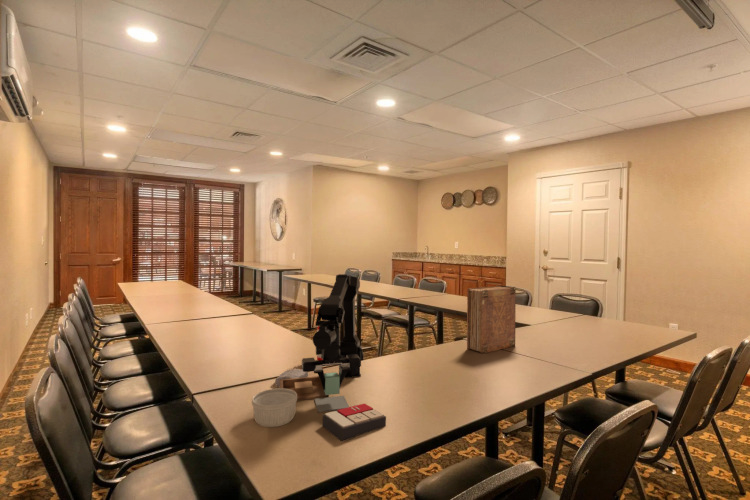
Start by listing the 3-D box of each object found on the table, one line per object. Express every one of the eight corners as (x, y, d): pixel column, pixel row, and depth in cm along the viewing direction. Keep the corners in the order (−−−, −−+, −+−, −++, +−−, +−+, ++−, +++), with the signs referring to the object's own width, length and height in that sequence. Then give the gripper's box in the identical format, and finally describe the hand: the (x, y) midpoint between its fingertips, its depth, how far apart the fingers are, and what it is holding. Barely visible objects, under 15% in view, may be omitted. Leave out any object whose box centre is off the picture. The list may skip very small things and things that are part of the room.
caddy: (324, 384, 145) (324, 375, 145) (328, 397, 133) (328, 387, 133) (279, 389, 141) (279, 379, 141) (280, 402, 129) (280, 391, 129)
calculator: (386, 414, 113) (342, 426, 104) (386, 429, 113) (341, 442, 104) (365, 401, 121) (322, 411, 113) (364, 415, 121) (321, 426, 112)
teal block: (337, 388, 130) (337, 372, 130) (339, 393, 126) (339, 376, 126) (323, 389, 129) (323, 373, 129) (325, 395, 125) (325, 378, 125)
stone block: (273, 391, 143) (299, 388, 142) (271, 378, 144) (296, 375, 142) (286, 381, 155) (310, 378, 153) (284, 369, 155) (308, 366, 154)
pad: (343, 396, 134) (343, 395, 134) (349, 408, 124) (349, 407, 124) (314, 399, 131) (314, 398, 131) (318, 412, 121) (318, 411, 121)
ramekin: (287, 431, 109) (286, 407, 109) (243, 427, 112) (243, 403, 112) (303, 411, 122) (303, 389, 122) (264, 408, 125) (264, 386, 125)
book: (481, 353, 185) (481, 290, 184) (466, 349, 192) (466, 288, 192) (515, 345, 199) (515, 287, 198) (500, 342, 206) (500, 285, 206)
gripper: (354, 333, 137) (354, 377, 138) (300, 337, 133) (300, 382, 133) (361, 341, 127) (361, 389, 127) (303, 345, 122) (303, 395, 122)
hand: (331, 388), depth 128 cm, fingers closed on teal block, 4 cm apart
